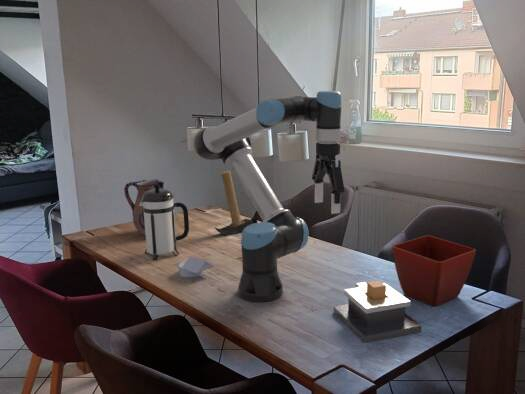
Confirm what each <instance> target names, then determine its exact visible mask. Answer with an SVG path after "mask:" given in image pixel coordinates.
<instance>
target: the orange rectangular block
mask: <svg viewBox="0 0 525 394" xmlns="http://www.w3.org/2000/svg"><path fill="white" fill-rule="evenodd" d="M366 283H367V296H368V297H369V298H370V299H371V300H378V299H384V298H386V285H385V284H383V283H384V282H382V281H381V280H375V281H368V282H366Z"/></svg>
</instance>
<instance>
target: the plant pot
mask: <svg viewBox="0 0 525 394" xmlns="http://www.w3.org/2000/svg"><path fill="white" fill-rule="evenodd" d="M391 247H392V248H391V249H392V255H393V261H394V267H395V270H396V274H397V275H396V276H397V278H398V283H399V284H400V288H401V289H402V293H403V294H404V295H405V296H408V297H410V298H411V299H415V300H417V301H419V302H422V303H424V304H427V306H431V307H437V306H440V305H443V304H444V303H447V302H449V301H452V300H454V299H456V298H458V297H459V295H460V294H461V291H462V290H463V288H464V286H465V283H466V281H467V280H468V277H469V275H470V271H471V269H472V266H473V263H474V260H475V256H476V251H477V249H475V248H472V247H470V246H468V245H462V244H460V243H456V242H453V241H450V240H446V239H442V238H439V237H436V236H433V235H424V236H420V237H417V238H414V239H410V240H406V241H403V242H400V243H397V244H394V245H392V246H391Z"/></svg>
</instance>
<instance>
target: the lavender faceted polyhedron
mask: <svg viewBox="0 0 525 394" xmlns="http://www.w3.org/2000/svg"><path fill="white" fill-rule="evenodd" d="M214 267H215V265H214V264H212V263H211V262H208V261H206V260H204V259H200V258H197V257H196V256H195V257H194V256H192V255H190V256H188V259H186V260H185V261H181V262H180V263H179V264H178V274H180V275H181V276H180V275H179V276H180V277H183V278H194V277H195V276H196V277H200V276H201V275H203V274H202V273H204V271H206V270H208V269H212V268H214Z"/></svg>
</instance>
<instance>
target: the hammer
mask: <svg viewBox="0 0 525 394" xmlns="http://www.w3.org/2000/svg"><path fill="white" fill-rule="evenodd" d="M220 175H221V178H222V182H223V183H222V184H223V187H224V191H225V196H226V200H227V205H228V209H229V214H230V219H231V223H230V224H229V225H226V226H224V227H221V228H217V227H214V229H215V230H216V231H217V232H218V233H219V234H221V235H223V236H226V237H229V236H233V235H237V234H242V231H243V230H244V228H246V227H247V226H249V225H251V224H254V223H259V222H258V220H257V218H256V217H255V216H254V217H252V218H251V219H250V218H244V219H241V216H240V215H241V214H240V211H239V204H238V202H237V197H236V193H235V186H234V182H233V178H232V172H231V171H230V170H225V171H221V174H220Z"/></svg>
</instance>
